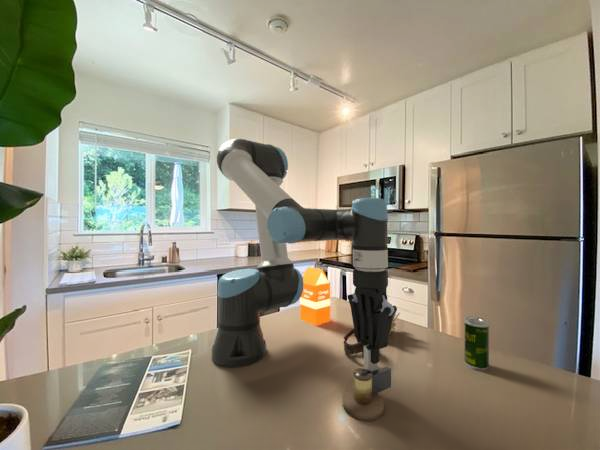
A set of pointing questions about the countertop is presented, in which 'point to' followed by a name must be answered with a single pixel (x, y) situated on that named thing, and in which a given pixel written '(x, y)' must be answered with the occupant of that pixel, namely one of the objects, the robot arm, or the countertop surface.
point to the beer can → (477, 343)
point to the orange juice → (315, 297)
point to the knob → (370, 383)
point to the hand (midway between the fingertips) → (370, 375)
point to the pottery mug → (352, 347)
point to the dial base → (362, 407)
